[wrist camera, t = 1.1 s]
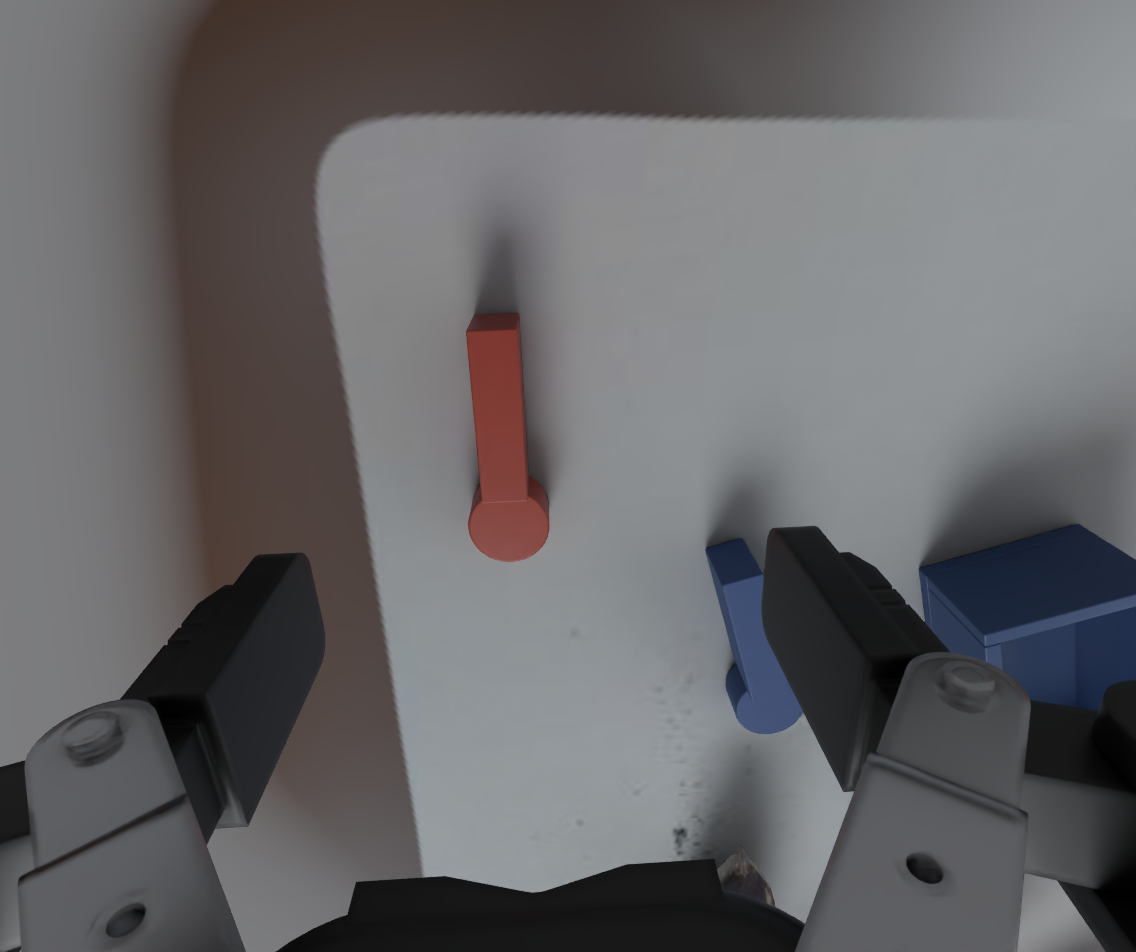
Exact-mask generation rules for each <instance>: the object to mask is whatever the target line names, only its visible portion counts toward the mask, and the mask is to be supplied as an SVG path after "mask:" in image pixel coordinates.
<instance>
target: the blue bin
mask: <svg viewBox="0 0 1136 952" xmlns="http://www.w3.org/2000/svg"><path fill="white" fill-rule="evenodd" d="M919 573H920V582H921V590H922V599H923V607H924V616H925V624H926V625H927V626H928V627H929V628H930V629H931V630H932V632H933V633H934V634H935V635H936V636H937V637H938V638H939V639H940V641H941V642H942V643H943V644H944V645H945V646H946V647H947V649H948V650H949V651H950V652H951V653H957V654H963V655H967V656H971V657H974V658H977V659H980V660H983V661H985V662H987V663H990V664H992V665H994V666H996V667H998V668H1000V669H1001V670H1003V671H1004V672H1006V673H1007V674H1009V675H1010V676H1012V677H1013V678H1014V679H1015V680H1016V681H1017V682H1018V683H1019V684H1020V685H1021V686H1022V687H1023V688H1024V690H1025V691H1026V693H1027V694H1028V696H1029V699H1030V700H1035V701H1040V702H1046V703H1052V704H1058V705H1065V706H1071V707H1077V708H1083V709H1090V710H1096V711H1098V709H1099V706H1100V704H1101V701H1102V698H1103V695H1104V693H1105V690H1106V689H1107V688H1108V687H1109V686H1111V685H1113V684H1115V683H1118V682H1122V681H1130V680H1136V560H1135V559H1133V558H1132V557H1130V556H1129V555H1127V554H1126V553H1124V552H1122V551H1121V550H1119V549H1118V548H1116V547H1114V546H1113V545H1111V544H1110V543H1108V542H1106V541H1105V540H1103V539H1102V538H1100V537H1099V536H1097V535H1095V534H1094V533H1092V532H1091V531H1089V530H1088V529H1086V528H1084V527H1083V526H1081V525H1080V524H1076V525H1073V526H1069V527H1066V528H1062V529H1059V530H1055V531H1052V532H1048V533H1044V534H1041V535H1037V536H1034V537H1030V538H1027V539H1023V540H1019V541H1016V542H1012V543H1009V544H1005V545H1002V546H998V547H994V548H991V549H987V550H984V551H980V552H977V553H973V554H970V555H966V556H962V557H959V558H955V559H952V560H948V561H945V562H941V563H937V564H934V565H930V566H927V567H923V568H920V569H919Z"/></svg>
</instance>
